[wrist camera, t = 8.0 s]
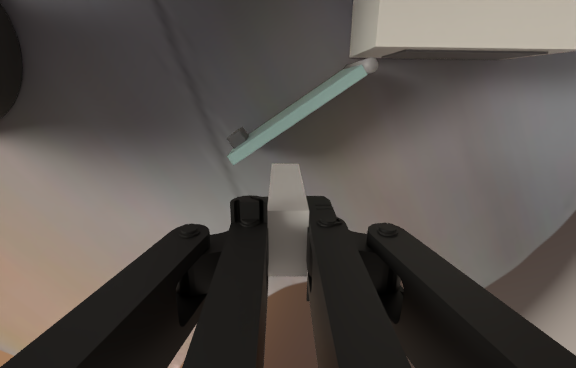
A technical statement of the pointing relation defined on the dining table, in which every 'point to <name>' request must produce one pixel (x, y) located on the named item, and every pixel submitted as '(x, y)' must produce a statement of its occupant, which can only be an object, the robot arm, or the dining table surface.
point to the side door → (298, 109)
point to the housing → (462, 29)
